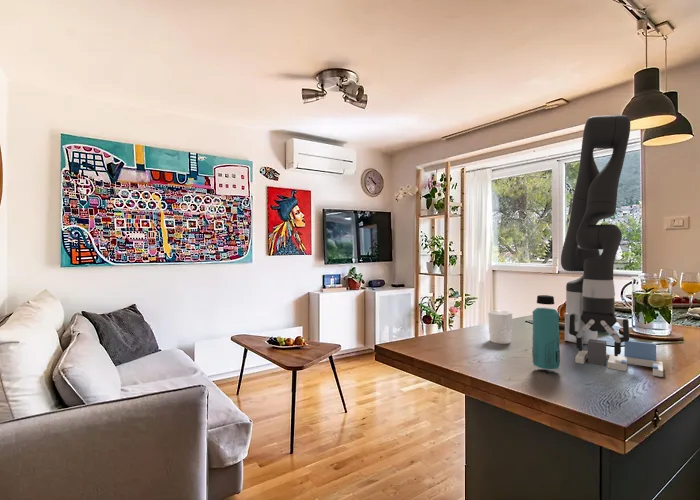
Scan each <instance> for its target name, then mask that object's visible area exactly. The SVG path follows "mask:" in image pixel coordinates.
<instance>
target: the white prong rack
mask: <svg viewBox="0 0 700 500" xmlns="http://www.w3.org/2000/svg"><path fill="white" fill-rule="evenodd" d="M623 348H624V356H623V355H618V356H614V354H610V353H606V361H607V368H608V369H612V370H618V371H625V372H627V368H628V365H629V364H630V365H635V366H640V367H641V366H642V367H649V368H652V376H654V377H660V378H663V377H664V366H663V364H664V363H663V361H658V360H657V343H651V342H645V341H637V340H636V341H635V340H629V341H628V342H624V347H623ZM586 360H588V350H584V349H583V350H582V351H579V350H578V353H577V354H576V356H575V361H574V362H575V363H577V364H582V365H583V364H585V362H586Z"/></svg>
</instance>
